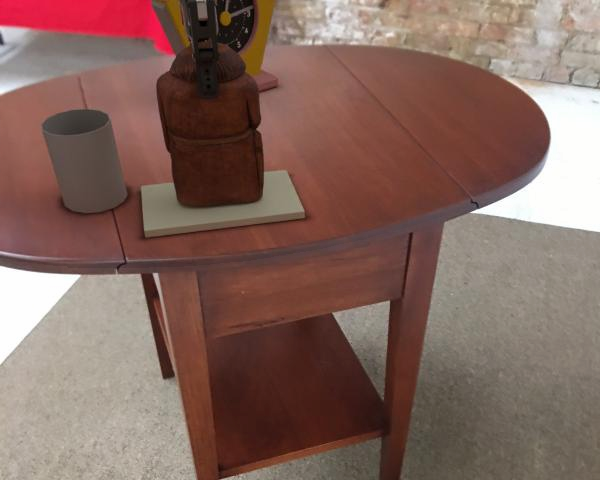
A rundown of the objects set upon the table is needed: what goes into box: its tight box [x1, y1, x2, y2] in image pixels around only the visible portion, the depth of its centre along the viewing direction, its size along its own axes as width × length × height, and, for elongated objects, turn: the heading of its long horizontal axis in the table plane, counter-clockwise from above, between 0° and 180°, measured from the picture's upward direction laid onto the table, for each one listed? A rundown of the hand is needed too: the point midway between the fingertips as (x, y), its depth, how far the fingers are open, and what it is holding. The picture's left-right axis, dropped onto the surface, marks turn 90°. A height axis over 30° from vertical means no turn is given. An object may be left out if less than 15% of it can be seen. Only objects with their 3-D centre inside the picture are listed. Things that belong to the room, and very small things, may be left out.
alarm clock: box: [150, 0, 279, 93], centre depth 105 cm, size 22×9×22 cm, turn 128°
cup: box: [40, 108, 128, 214], centre depth 81 cm, size 8×8×10 cm
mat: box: [140, 169, 306, 238], centre depth 83 cm, size 20×12×1 cm, turn 102°
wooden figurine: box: [155, 42, 265, 206], centre depth 76 cm, size 12×6×18 cm, turn 99°
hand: (206, 87), depth 73 cm, fingers closed on wooden figurine, 6 cm apart
